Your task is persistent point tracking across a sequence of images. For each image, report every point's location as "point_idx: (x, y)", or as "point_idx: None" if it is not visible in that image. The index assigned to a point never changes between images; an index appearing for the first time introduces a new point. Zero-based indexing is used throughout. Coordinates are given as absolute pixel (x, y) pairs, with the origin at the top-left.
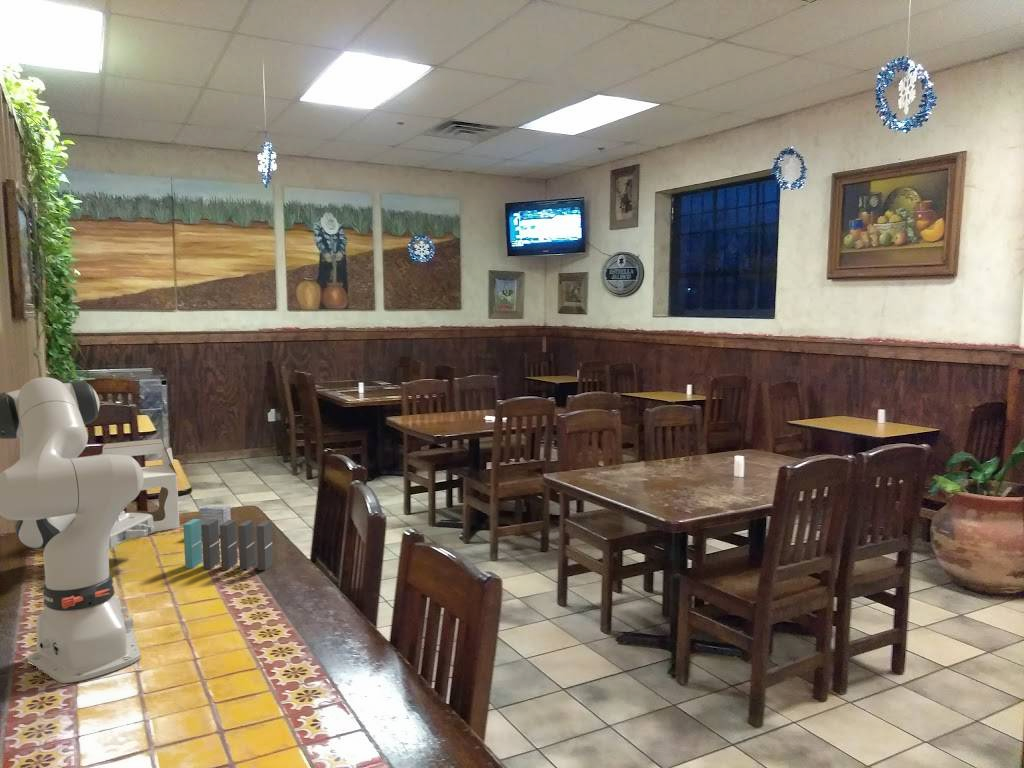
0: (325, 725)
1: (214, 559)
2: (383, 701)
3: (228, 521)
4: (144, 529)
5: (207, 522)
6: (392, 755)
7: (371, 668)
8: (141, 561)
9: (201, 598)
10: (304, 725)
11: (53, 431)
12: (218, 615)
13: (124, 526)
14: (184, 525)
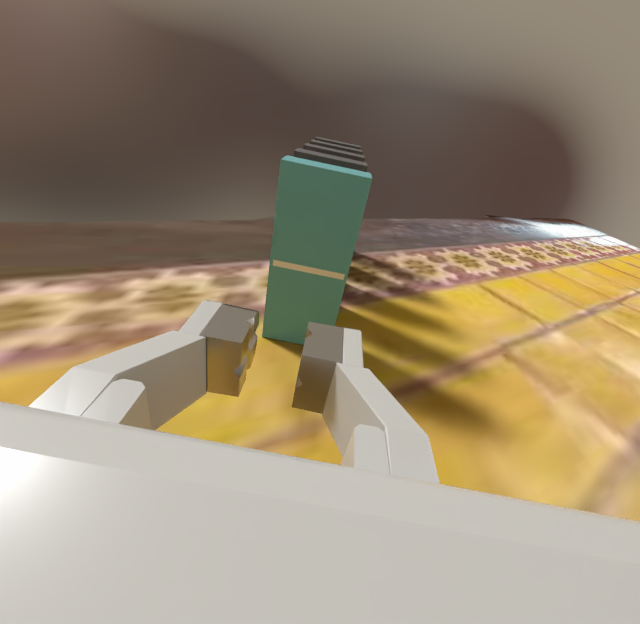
0: (612, 244)
1: None
2: (563, 228)
3: (323, 148)
4: (315, 332)
5: (336, 158)
6: (603, 233)
7: (533, 226)
8: None
9: (497, 302)
10: (623, 249)
11: None
12: (534, 283)
13: (367, 552)
14: (369, 183)
